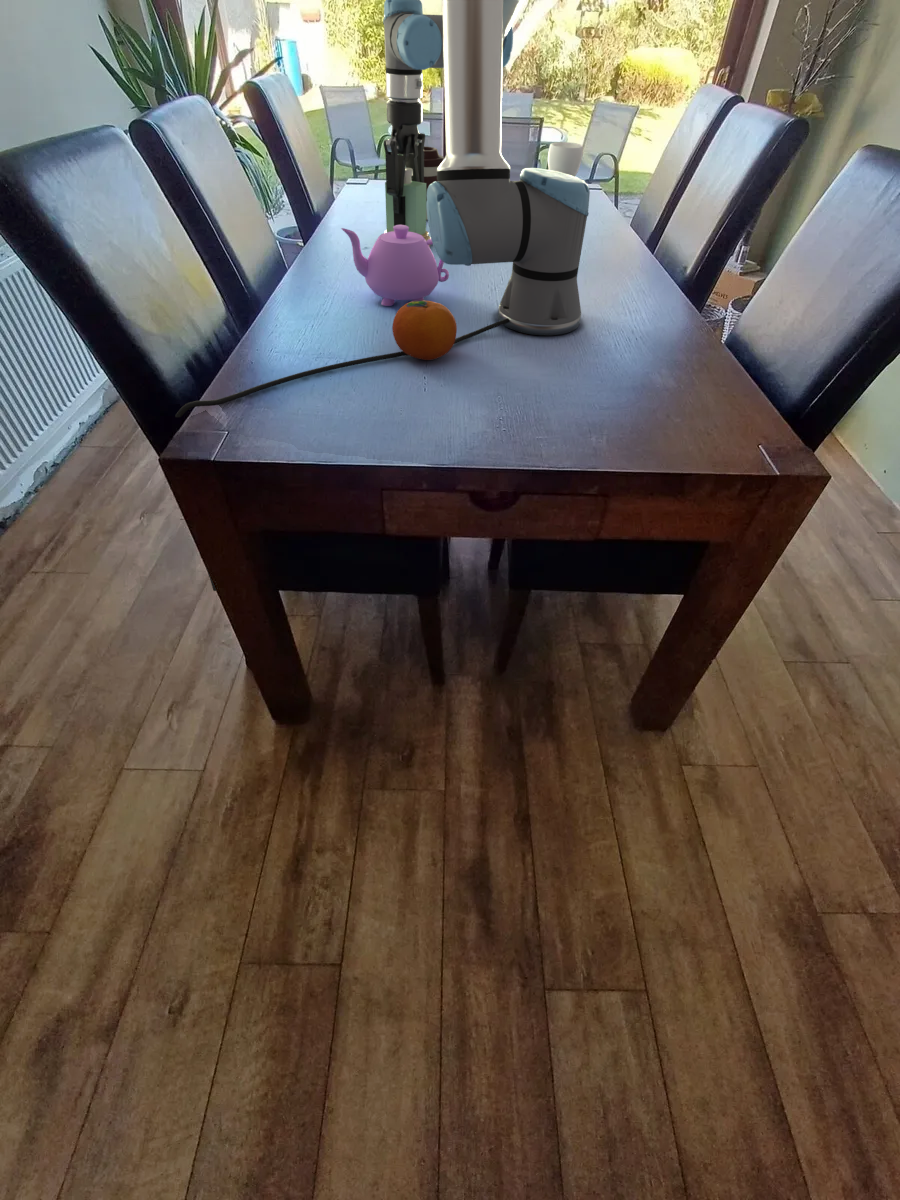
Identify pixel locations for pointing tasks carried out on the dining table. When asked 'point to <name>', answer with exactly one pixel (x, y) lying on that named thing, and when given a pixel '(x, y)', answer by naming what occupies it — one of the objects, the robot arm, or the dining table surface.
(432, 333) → the fruit
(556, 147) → the cup
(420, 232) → the soap bottle
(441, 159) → the coffee cup
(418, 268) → the teapot
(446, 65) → the robot arm
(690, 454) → the dining table surface
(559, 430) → the dining table surface
